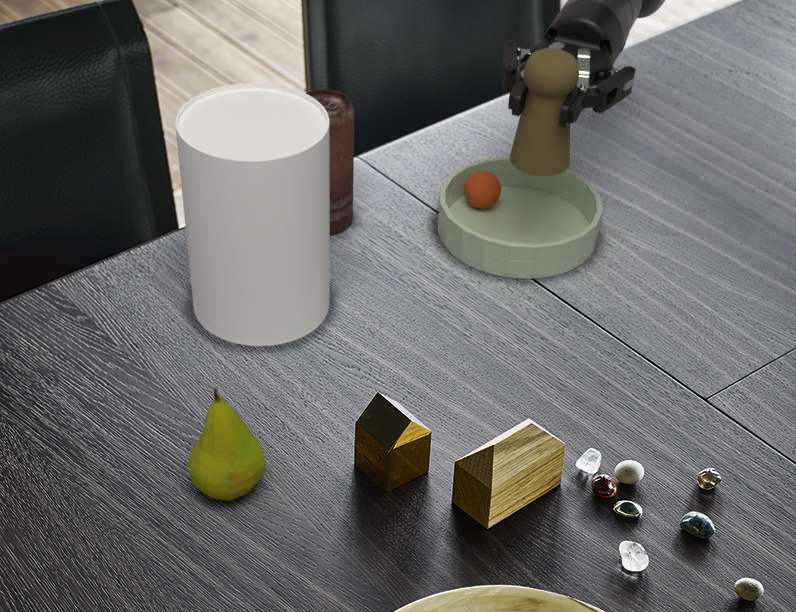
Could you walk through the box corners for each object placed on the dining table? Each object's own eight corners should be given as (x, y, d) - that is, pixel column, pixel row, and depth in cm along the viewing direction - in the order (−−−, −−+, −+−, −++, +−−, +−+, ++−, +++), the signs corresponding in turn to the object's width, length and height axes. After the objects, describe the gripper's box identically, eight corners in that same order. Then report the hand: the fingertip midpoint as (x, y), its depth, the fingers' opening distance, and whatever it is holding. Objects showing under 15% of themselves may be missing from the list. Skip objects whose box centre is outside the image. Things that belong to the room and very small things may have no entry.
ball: (498, 196, 139) (502, 164, 137) (499, 216, 137) (503, 184, 134) (462, 194, 139) (465, 162, 137) (462, 214, 137) (465, 182, 134)
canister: (179, 338, 121) (158, 153, 106) (209, 257, 130) (194, 76, 116) (318, 352, 120) (316, 168, 106) (338, 270, 130) (339, 90, 115)
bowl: (590, 192, 142) (595, 160, 139) (602, 283, 130) (608, 250, 127) (438, 184, 142) (440, 152, 139) (436, 274, 130) (439, 241, 127)
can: (290, 207, 137) (287, 88, 127) (347, 203, 138) (349, 85, 128) (297, 239, 133) (294, 118, 123) (356, 234, 134) (358, 115, 124)
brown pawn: (499, 149, 126) (510, 45, 118) (553, 139, 127) (568, 35, 119) (525, 180, 122) (538, 75, 114) (580, 170, 124) (597, 65, 116)
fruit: (258, 458, 110) (252, 351, 101) (272, 508, 106) (267, 401, 97) (185, 469, 109) (173, 362, 100) (196, 520, 104) (184, 413, 96)
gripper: (526, -15, 128) (471, 59, 117) (662, 13, 125) (619, 92, 114) (518, 54, 133) (465, 131, 122) (649, 83, 130) (606, 165, 119)
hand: (539, 112), depth 118 cm, fingers closed on brown pawn, 4 cm apart
